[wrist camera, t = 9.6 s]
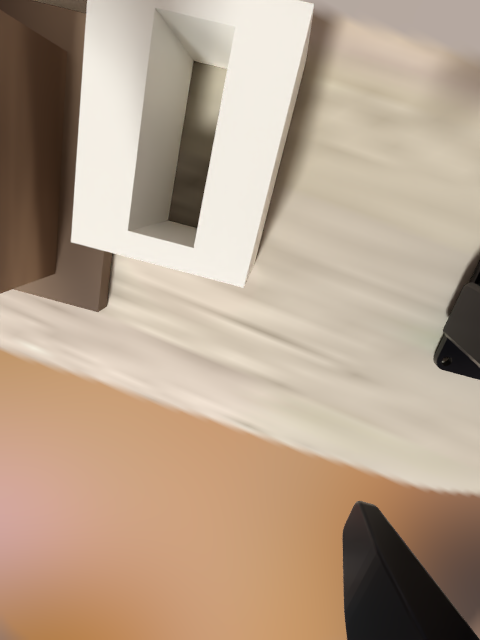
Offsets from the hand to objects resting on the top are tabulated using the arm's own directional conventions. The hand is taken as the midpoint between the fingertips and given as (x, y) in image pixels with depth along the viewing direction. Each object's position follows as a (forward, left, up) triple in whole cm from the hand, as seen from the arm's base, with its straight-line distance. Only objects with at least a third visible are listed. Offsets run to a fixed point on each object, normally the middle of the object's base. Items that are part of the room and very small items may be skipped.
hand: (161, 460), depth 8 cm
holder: (+3, -7, -12) cm, 14 cm away
